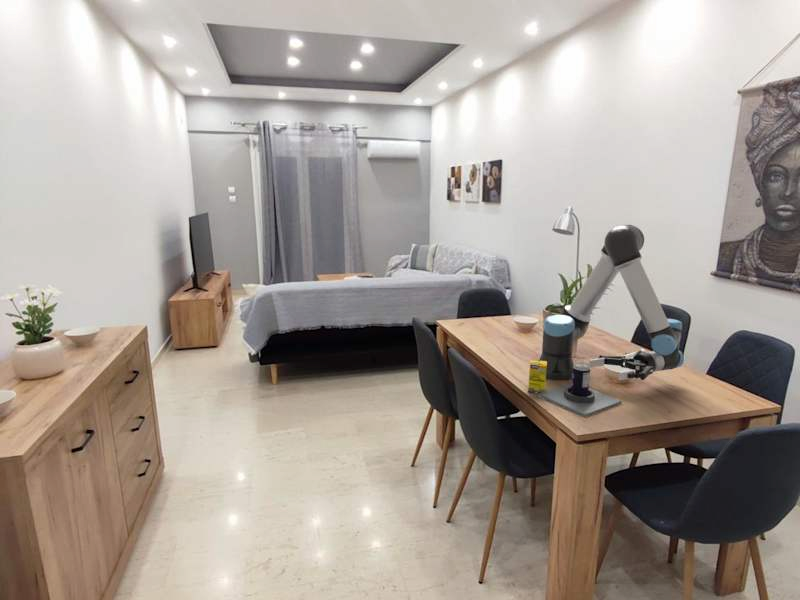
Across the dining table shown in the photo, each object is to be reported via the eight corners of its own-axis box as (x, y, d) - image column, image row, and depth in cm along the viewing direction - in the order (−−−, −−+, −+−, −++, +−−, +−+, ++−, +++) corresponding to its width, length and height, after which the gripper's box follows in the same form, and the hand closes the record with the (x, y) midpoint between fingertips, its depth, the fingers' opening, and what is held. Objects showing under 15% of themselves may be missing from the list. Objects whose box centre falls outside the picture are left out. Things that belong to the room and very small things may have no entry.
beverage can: (583, 393, 170) (586, 362, 167) (590, 400, 164) (593, 367, 162) (568, 394, 169) (570, 362, 167) (574, 400, 164) (577, 367, 161)
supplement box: (527, 392, 174) (529, 364, 171) (528, 386, 179) (530, 359, 177) (544, 394, 172) (546, 365, 170) (545, 388, 177) (547, 360, 175)
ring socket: (537, 396, 170) (538, 388, 169) (573, 385, 181) (574, 377, 180) (585, 417, 154) (585, 408, 153) (621, 403, 164) (622, 395, 163)
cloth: (677, 365, 204) (678, 352, 202) (648, 372, 196) (650, 358, 194) (631, 351, 223) (633, 339, 222) (604, 357, 215) (605, 344, 214)
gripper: (676, 384, 166) (631, 392, 158) (619, 361, 188) (578, 368, 181) (679, 363, 164) (634, 371, 156) (621, 343, 187) (580, 349, 179)
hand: (604, 369), depth 169 cm, fingers open, 13 cm apart
